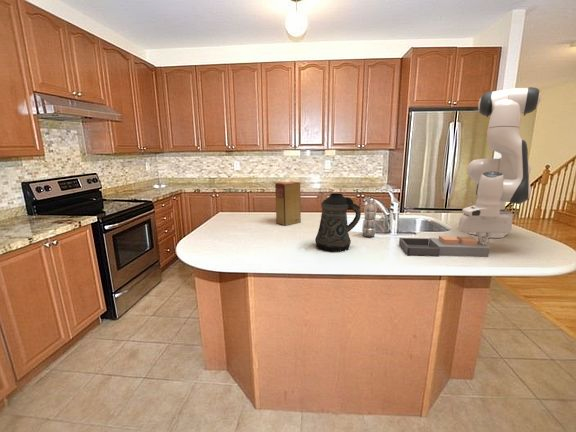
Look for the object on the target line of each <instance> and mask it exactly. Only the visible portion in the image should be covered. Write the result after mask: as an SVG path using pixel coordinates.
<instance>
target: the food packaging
mask: <svg viewBox="0 0 576 432" xmlns="http://www.w3.org/2000/svg"><path fill="white" fill-rule="evenodd" d="M274 185H275V186H274V187H275V191H274V193H275V217H276V218H275V219H276V220H275V221H276V224H278V225H280V226H284V227H286V226H291V225H296V224H300V223H302V220H301V219H302V218H301V217H302V216H301V214H302V212H301V210H302V209H301V206H302V205H301V182H299V181H284V182H275V183H274Z"/></svg>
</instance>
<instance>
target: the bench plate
mask: <svg viewBox="0 0 576 432" xmlns="http://www.w3.org/2000/svg"><path fill="white" fill-rule="evenodd" d="M428 239H429V244H428V245H429V246H430V247H431V248H440V253H439V256H438V257H440V256H441V257H445V256H446V257H474V258H475V257H479V258H482V257H483V258H489V253H490V247H489V246H487V245H486V244H484V243H483V242H479V241H478V242H477V245H462V244H460V243H459V245H444V244H443V243H441V242H440V241H439V237H435V238H434V237H433V238H432V237H429V238H428Z"/></svg>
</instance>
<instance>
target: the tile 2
mask: <svg viewBox="0 0 576 432" xmlns="http://www.w3.org/2000/svg"><path fill="white" fill-rule="evenodd" d="M455 238H457V239H458V240H459V243H460V244H462V245H477V242H478V239H476V238H474V237H473V236H471V235H456V236H455Z"/></svg>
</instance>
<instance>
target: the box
mask: <svg viewBox="0 0 576 432" xmlns="http://www.w3.org/2000/svg"><path fill="white" fill-rule="evenodd" d="M398 245H399V247H400V249H402V250H403V252H404V253H405V254H407V255H406V256H412V257H413V256H415V257H440V256H439V253H440V248H431V247H430V246H429V238H426V237H425V238H424V237H423V238H422V237H421V238H418V237H416V238H415V237H399V242H398Z"/></svg>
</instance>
